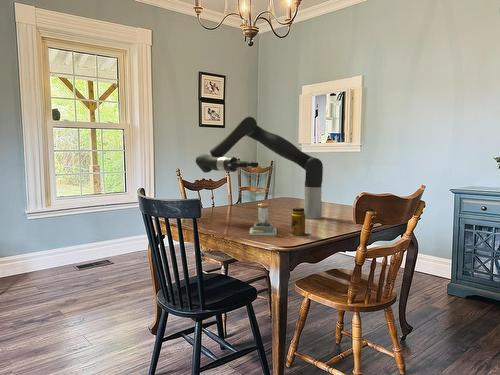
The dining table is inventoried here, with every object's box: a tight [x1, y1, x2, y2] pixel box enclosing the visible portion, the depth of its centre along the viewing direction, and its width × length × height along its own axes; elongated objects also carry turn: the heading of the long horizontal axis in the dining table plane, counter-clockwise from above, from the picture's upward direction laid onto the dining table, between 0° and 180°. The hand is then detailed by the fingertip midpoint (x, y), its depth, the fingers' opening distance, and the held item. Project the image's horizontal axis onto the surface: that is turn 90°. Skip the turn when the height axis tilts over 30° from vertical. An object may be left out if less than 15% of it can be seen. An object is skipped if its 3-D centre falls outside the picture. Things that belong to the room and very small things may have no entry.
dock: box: [248, 222, 278, 237], centre depth 173 cm, size 12×12×4 cm
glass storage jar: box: [257, 202, 270, 226], centre depth 173 cm, size 5×5×12 cm
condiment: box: [288, 207, 310, 238], centre depth 169 cm, size 7×8×12 cm
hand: (252, 165), depth 186 cm, fingers open, 8 cm apart
